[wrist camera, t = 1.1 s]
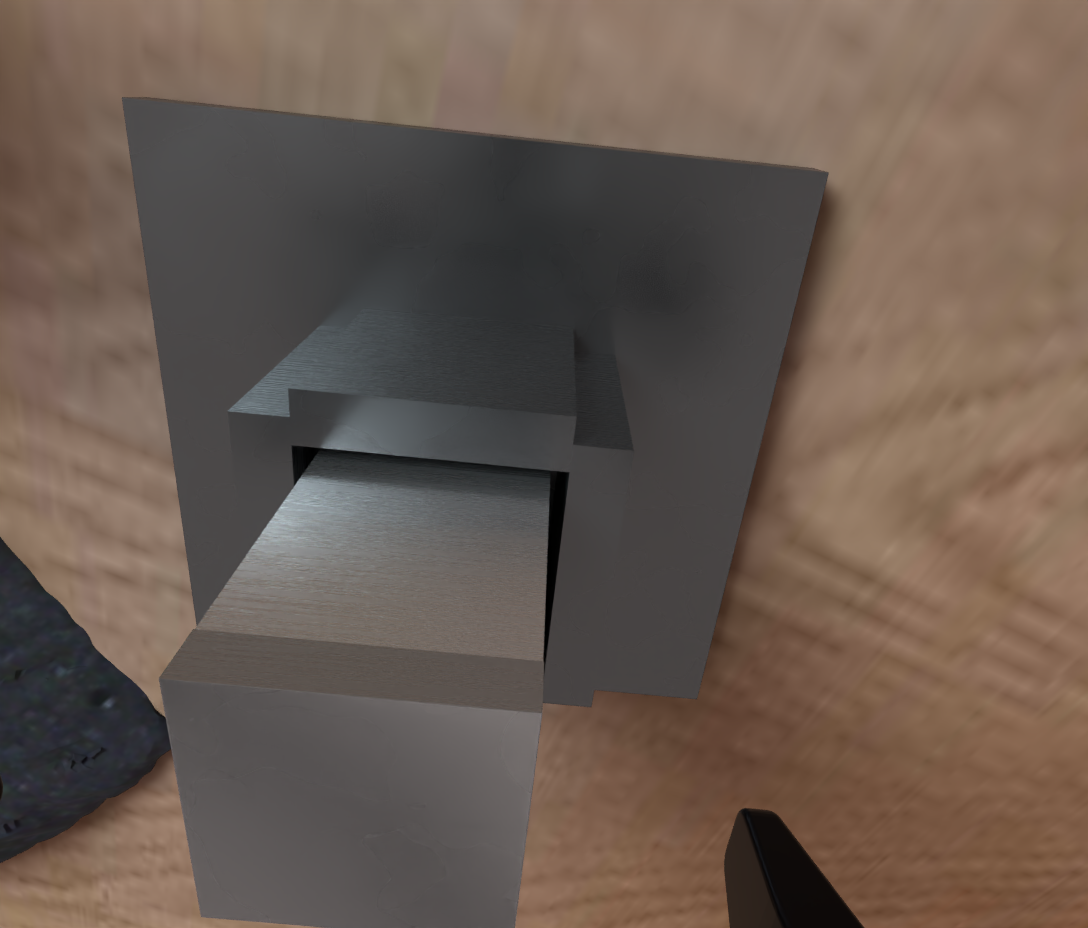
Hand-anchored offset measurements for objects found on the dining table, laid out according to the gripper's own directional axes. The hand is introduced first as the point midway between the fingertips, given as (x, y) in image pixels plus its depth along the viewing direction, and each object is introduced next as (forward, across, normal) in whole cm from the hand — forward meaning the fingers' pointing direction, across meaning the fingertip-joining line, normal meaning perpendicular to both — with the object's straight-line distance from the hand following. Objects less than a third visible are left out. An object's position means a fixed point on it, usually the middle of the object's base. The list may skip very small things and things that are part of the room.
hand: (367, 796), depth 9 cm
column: (+10, 0, 0) cm, 10 cm away
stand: (+11, 0, 0) cm, 11 cm away
